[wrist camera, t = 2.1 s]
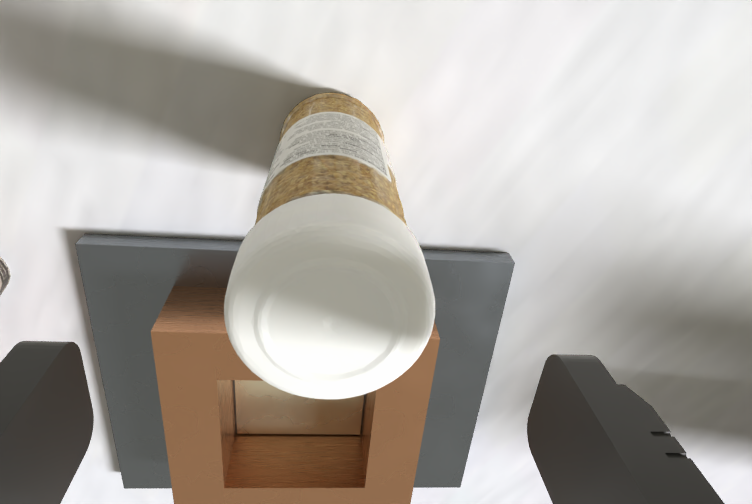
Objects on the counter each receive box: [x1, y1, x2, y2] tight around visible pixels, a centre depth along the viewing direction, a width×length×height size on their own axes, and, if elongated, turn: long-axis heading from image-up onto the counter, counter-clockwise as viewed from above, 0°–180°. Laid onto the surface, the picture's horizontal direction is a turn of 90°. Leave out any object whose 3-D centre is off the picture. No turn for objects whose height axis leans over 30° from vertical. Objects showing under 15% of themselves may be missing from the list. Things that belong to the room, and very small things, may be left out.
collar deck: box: [75, 234, 515, 504], centre depth 27 cm, size 20×16×4 cm
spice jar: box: [224, 92, 435, 399], centre depth 17 cm, size 5×5×13 cm
